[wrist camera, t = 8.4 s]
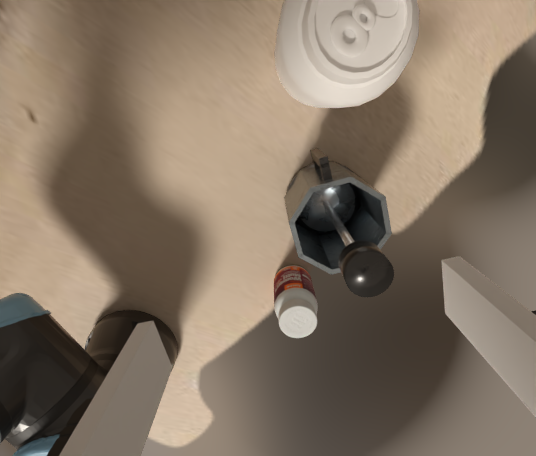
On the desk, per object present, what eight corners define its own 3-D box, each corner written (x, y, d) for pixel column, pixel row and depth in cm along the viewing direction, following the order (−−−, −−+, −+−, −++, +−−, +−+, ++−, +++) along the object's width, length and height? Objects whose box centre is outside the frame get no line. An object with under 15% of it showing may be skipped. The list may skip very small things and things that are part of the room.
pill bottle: (296, 257, 54) (303, 293, 44) (318, 284, 56) (330, 326, 45) (266, 277, 56) (265, 318, 45) (288, 303, 57) (292, 348, 47)
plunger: (304, 235, 52) (330, 328, 30) (290, 183, 49) (308, 244, 27) (359, 221, 51) (426, 306, 29) (347, 167, 48) (413, 216, 27)
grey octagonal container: (295, 244, 54) (303, 282, 42) (272, 157, 49) (273, 173, 37) (368, 225, 53) (397, 259, 41) (351, 134, 48) (378, 144, 36)
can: (324, 126, 48) (361, 140, 29) (254, 64, 45) (245, 34, 26) (389, 49, 44) (479, 8, 26) (318, -23, 42) (360, -129, 23)
